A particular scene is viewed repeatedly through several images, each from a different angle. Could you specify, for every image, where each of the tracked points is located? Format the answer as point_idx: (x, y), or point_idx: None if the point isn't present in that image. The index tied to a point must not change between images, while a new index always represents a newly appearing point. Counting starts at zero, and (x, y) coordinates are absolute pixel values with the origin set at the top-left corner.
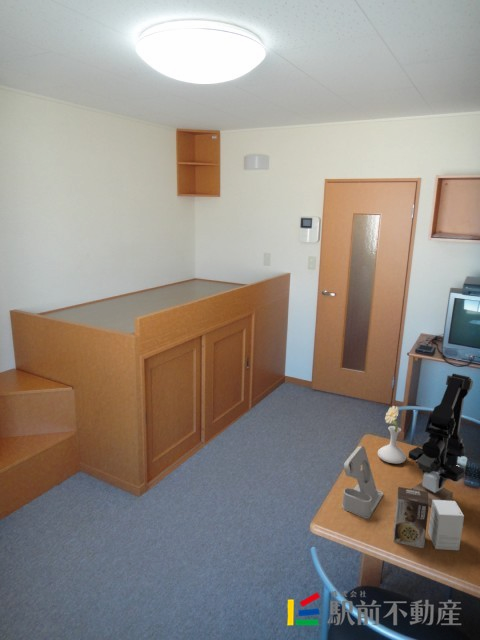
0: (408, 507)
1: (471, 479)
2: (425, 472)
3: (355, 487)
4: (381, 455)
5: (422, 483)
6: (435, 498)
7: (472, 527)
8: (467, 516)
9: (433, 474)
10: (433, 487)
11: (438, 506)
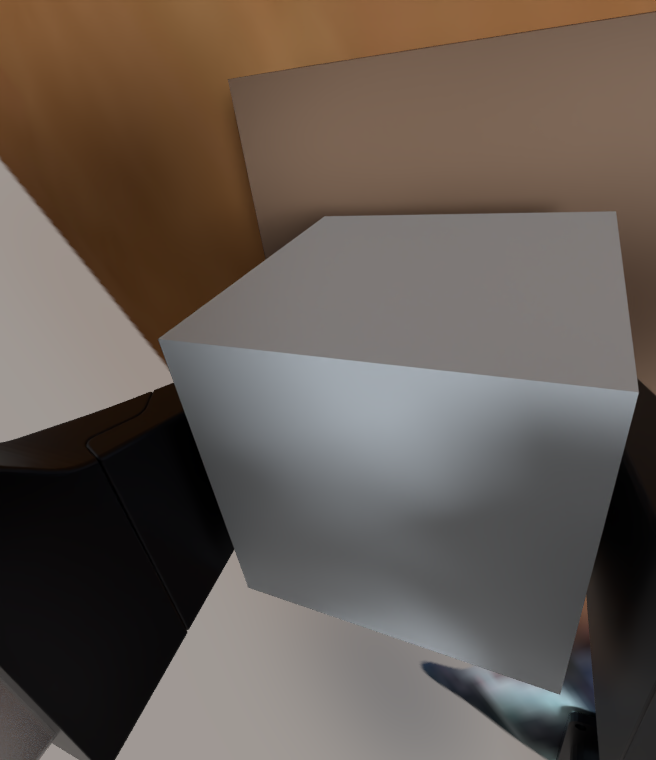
0: None
1: (424, 667)
2: (635, 507)
3: None
4: None
5: (617, 231)
6: (308, 163)
7: (27, 179)
8: (139, 279)
9: (385, 526)
10: (322, 247)
11: None
